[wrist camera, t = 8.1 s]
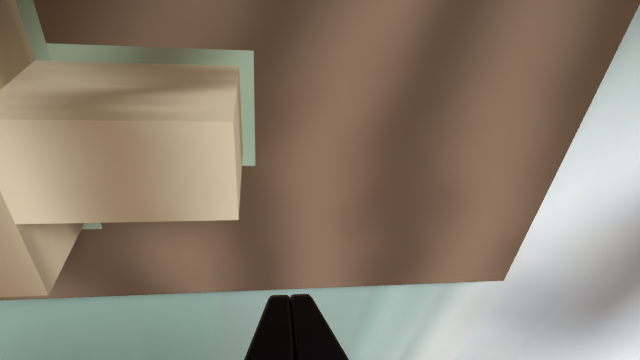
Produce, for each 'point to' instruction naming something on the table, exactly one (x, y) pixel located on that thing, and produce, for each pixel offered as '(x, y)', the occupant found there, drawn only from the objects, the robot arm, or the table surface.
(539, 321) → the table surface
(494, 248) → the board
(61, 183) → the t block
